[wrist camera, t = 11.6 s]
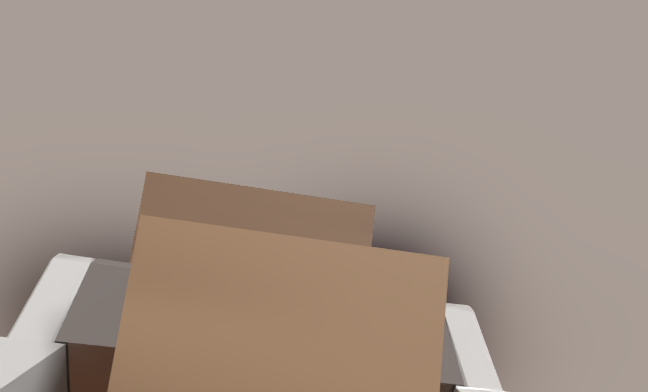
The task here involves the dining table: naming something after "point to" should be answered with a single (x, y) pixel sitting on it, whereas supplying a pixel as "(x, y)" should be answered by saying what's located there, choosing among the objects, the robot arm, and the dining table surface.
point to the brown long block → (273, 297)
